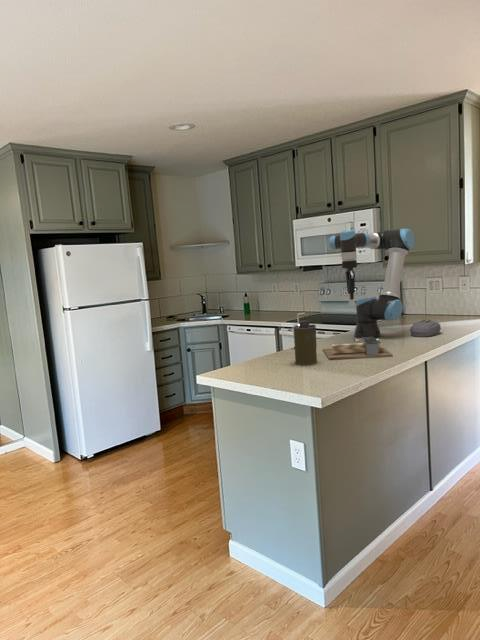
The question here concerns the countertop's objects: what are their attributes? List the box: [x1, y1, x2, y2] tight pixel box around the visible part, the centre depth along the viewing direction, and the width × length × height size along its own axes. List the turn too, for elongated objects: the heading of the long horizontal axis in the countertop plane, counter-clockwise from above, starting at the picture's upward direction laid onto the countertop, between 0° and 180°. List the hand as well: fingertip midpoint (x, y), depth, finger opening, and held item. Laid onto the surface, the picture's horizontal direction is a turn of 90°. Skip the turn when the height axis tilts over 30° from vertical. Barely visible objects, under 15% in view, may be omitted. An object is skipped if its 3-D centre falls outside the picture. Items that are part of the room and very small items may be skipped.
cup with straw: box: [290, 312, 307, 336], centre depth 263 cm, size 8×9×20 cm
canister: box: [292, 320, 318, 366], centre depth 226 cm, size 11×10×20 cm
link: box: [331, 341, 384, 354], centre depth 237 cm, size 24×5×4 cm, turn 85°
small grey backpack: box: [409, 319, 442, 338], centre depth 279 cm, size 15×8×20 cm
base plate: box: [322, 347, 394, 361], centre depth 240 cm, size 24×30×1 cm
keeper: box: [360, 337, 379, 356], centre depth 234 cm, size 12×6×7 cm, turn 178°
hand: (351, 305), depth 253 cm, fingers closed
